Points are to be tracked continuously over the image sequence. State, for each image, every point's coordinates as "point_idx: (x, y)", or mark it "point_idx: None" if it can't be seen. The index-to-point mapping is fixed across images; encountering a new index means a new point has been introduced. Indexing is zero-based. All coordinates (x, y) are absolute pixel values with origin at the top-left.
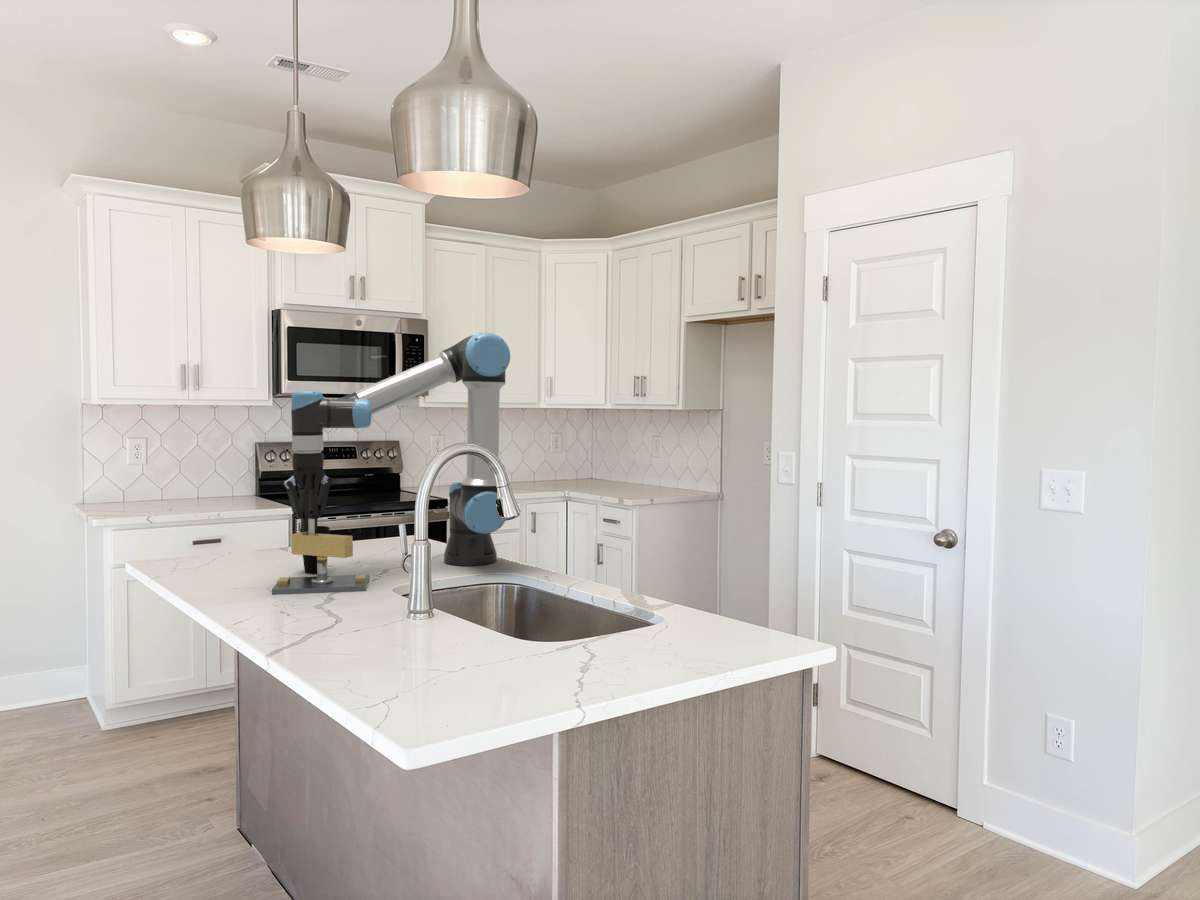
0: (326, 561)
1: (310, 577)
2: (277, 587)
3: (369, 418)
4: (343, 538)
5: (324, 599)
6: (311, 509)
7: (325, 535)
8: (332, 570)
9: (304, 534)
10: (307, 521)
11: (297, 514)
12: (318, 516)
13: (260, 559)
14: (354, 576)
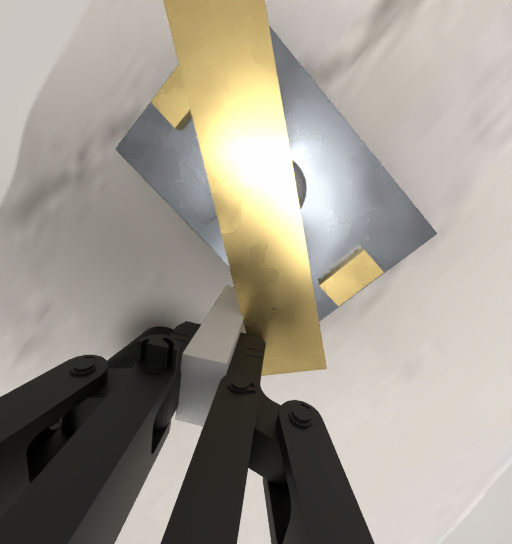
0: (131, 342)
1: None
2: (405, 241)
3: None
4: None
5: (412, 11)
6: (146, 449)
7: (250, 157)
8: (125, 329)
9: (296, 300)
10: (232, 370)
11: (326, 435)
12: (150, 343)
13: (161, 530)
14: (163, 166)
